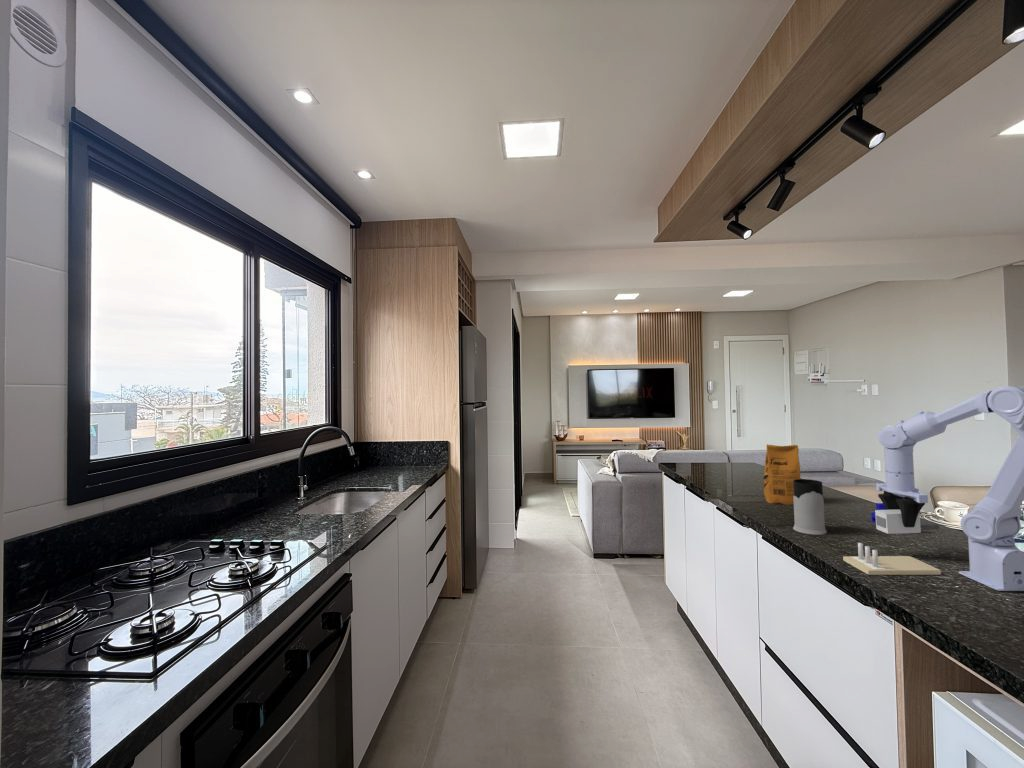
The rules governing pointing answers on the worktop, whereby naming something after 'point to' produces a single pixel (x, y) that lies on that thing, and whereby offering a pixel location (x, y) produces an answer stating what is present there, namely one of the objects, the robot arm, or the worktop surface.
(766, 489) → the coffee package
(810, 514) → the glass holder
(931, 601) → the worktop surface
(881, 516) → the plug housing
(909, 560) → the board
